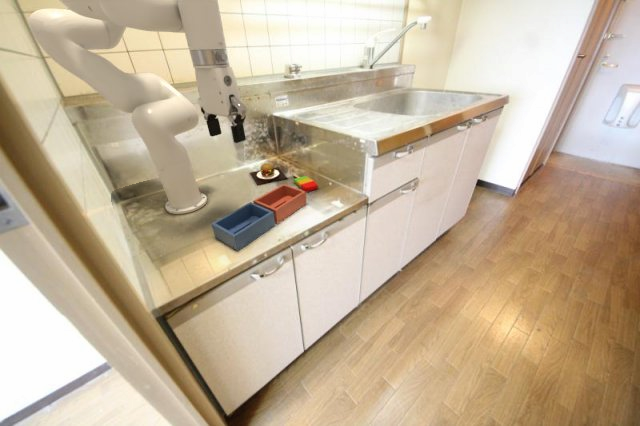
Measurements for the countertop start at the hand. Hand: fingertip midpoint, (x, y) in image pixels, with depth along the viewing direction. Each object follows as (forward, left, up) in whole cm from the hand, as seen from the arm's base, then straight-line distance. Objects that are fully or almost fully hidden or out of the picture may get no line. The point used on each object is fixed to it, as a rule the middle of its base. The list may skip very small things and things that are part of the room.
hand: (227, 138), depth 64 cm
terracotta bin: (+6, +10, -24) cm, 27 cm away
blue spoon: (+6, -5, -24) cm, 25 cm away
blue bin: (+6, -4, -24) cm, 25 cm away
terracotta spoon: (+6, +10, -24) cm, 27 cm away
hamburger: (-15, +25, -24) cm, 38 cm away
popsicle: (0, +28, -24) cm, 37 cm away
